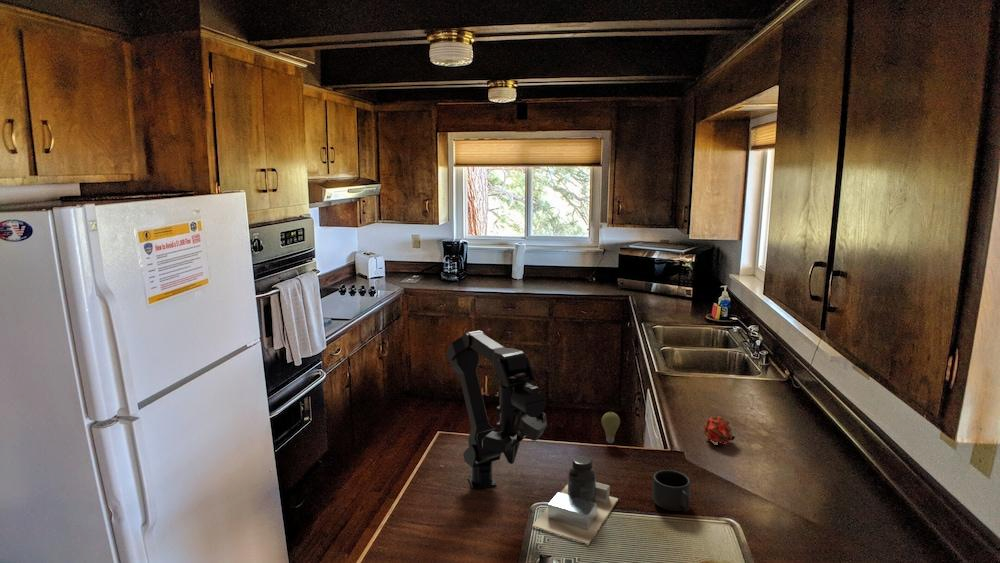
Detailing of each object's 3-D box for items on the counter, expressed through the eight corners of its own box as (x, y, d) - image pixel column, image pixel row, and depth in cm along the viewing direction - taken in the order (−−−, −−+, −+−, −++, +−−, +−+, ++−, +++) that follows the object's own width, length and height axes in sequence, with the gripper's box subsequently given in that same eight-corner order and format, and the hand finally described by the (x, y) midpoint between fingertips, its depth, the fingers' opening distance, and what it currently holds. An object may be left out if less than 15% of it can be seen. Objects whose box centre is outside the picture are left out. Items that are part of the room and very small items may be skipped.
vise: (567, 486, 152) (567, 472, 151) (618, 500, 145) (618, 485, 144) (532, 527, 134) (532, 511, 133) (588, 545, 127) (589, 529, 126)
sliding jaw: (558, 505, 141) (558, 492, 141) (596, 516, 137) (596, 503, 136) (547, 517, 136) (548, 503, 136) (587, 529, 131) (587, 515, 131)
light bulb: (597, 443, 177) (598, 412, 175) (607, 437, 181) (608, 407, 179) (613, 448, 173) (614, 417, 171) (622, 442, 177) (623, 412, 176)
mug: (645, 497, 146) (646, 472, 145) (676, 492, 149) (677, 467, 147) (671, 524, 135) (672, 496, 134) (704, 518, 137) (705, 491, 136)
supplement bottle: (564, 497, 145) (565, 454, 143) (591, 496, 146) (592, 452, 144) (571, 513, 138) (572, 467, 136) (598, 511, 139) (599, 465, 137)
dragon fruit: (712, 437, 184) (723, 460, 173) (692, 423, 183) (702, 445, 172) (731, 419, 182) (743, 441, 170) (710, 404, 181) (721, 425, 169)
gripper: (523, 423, 125) (523, 489, 128) (557, 396, 141) (556, 455, 144) (480, 413, 131) (480, 476, 133) (518, 388, 147) (517, 445, 149)
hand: (511, 463), depth 140 cm, fingers closed
